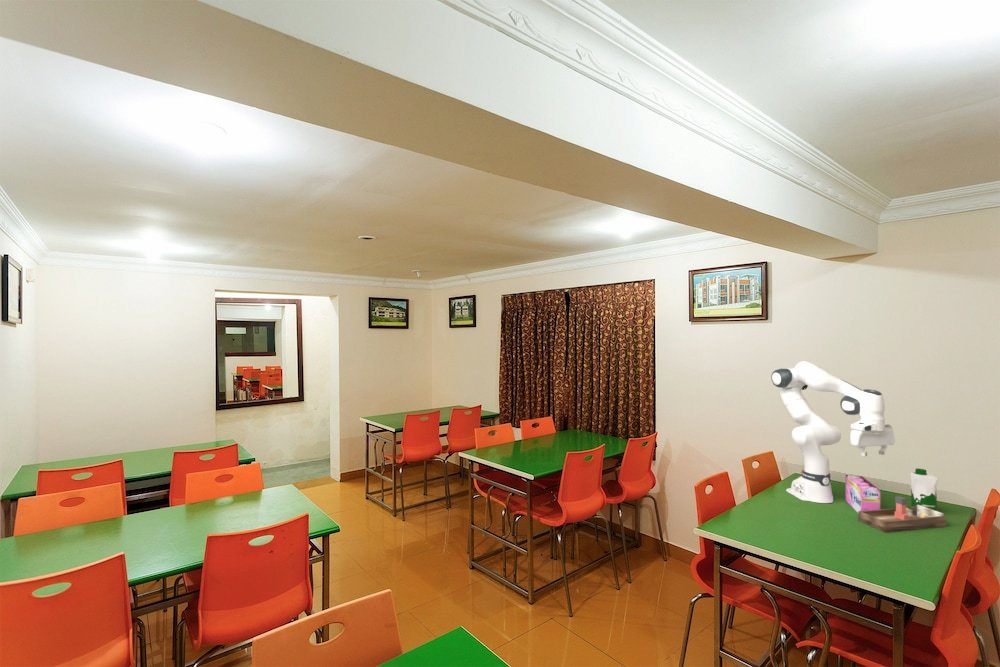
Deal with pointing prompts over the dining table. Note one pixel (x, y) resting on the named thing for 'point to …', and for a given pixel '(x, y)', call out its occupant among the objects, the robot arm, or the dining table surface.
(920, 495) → the milk carton
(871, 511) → the pitch
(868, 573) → the dining table surface
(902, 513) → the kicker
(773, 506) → the dining table surface
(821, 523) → the dining table surface
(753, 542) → the dining table surface
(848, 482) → the gum box
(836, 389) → the robot arm
